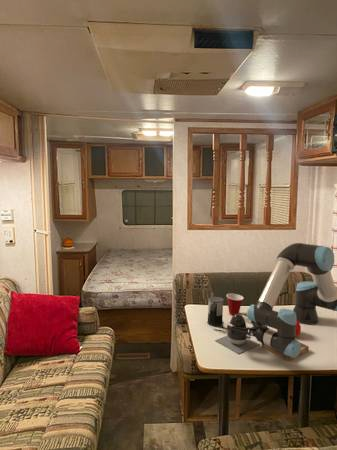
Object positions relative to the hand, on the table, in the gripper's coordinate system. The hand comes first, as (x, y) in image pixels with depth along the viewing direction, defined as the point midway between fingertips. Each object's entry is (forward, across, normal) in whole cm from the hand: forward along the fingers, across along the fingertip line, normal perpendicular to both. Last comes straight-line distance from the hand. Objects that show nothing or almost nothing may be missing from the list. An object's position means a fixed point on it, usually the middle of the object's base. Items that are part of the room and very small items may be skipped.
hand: (232, 320), depth 165 cm
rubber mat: (-3, 0, -11) cm, 11 cm away
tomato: (-13, +32, -11) cm, 36 cm away
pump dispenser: (-3, 0, -11) cm, 11 cm away
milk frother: (+16, +8, -11) cm, 22 cm away
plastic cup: (+23, +27, -11) cm, 37 cm away
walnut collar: (-21, +15, -11) cm, 28 cm away
